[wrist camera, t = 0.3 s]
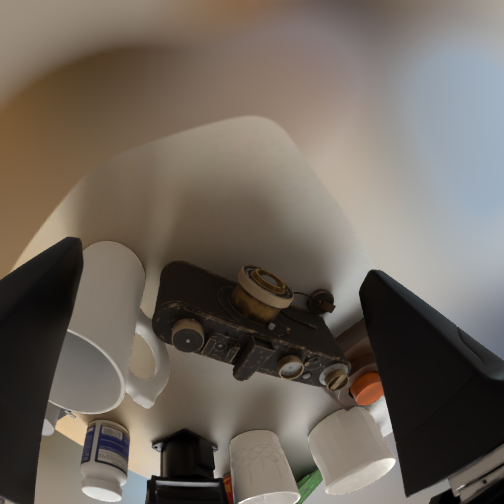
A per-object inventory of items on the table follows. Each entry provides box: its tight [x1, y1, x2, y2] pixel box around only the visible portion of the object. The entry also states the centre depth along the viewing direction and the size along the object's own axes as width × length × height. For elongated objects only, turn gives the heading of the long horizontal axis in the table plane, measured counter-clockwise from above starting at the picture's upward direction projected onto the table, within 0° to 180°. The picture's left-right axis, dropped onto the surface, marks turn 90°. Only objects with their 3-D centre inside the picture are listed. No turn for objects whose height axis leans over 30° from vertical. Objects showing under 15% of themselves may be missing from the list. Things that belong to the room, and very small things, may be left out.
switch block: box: [323, 318, 378, 411], centre depth 31 cm, size 10×8×4 cm
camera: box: [152, 261, 351, 391], centre depth 24 cm, size 16×7×8 cm, turn 61°
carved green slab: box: [295, 468, 323, 504], centre depth 39 cm, size 11×12×2 cm
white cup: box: [229, 430, 301, 504], centre depth 32 cm, size 8×8×10 cm
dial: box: [42, 401, 61, 435], centre depth 23 cm, size 4×4×4 cm
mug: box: [48, 241, 170, 414], centre depth 19 cm, size 10×7×12 cm, turn 46°
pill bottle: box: [80, 420, 130, 502], centre depth 27 cm, size 6×6×10 cm
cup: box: [308, 406, 396, 495], centre depth 34 cm, size 10×10×10 cm
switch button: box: [350, 371, 384, 405], centre depth 29 cm, size 4×4×2 cm
